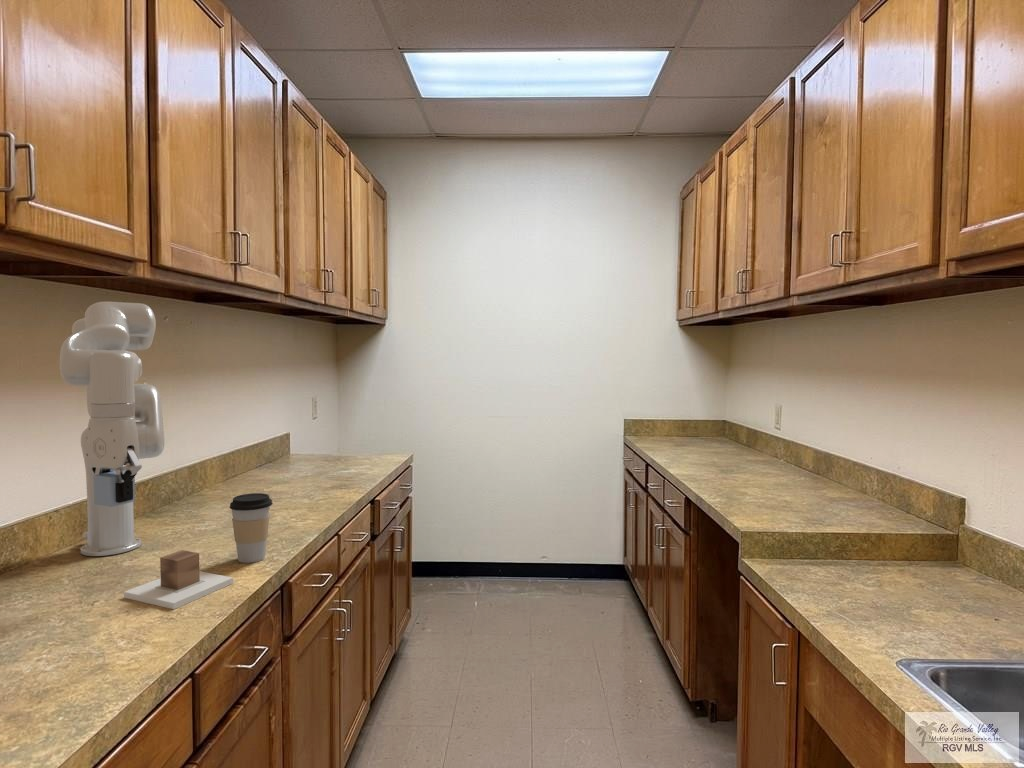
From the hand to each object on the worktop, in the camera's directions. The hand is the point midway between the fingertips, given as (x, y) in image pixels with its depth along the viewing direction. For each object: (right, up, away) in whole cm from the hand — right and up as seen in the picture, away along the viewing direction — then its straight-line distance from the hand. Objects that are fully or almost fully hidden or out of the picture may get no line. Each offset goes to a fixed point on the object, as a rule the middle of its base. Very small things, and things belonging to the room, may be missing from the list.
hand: (115, 498), depth 120 cm
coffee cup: (+19, -19, +20) cm, 33 cm away
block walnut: (+13, -18, +1) cm, 22 cm away
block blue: (0, -1, 0) cm, 1 cm away
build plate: (+13, -19, +1) cm, 23 cm away
